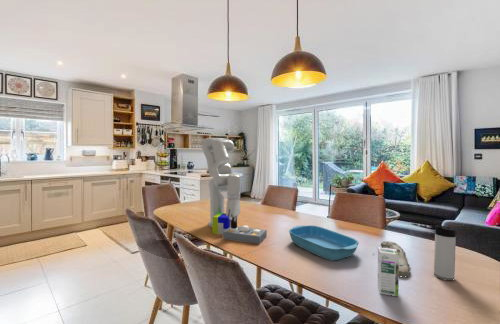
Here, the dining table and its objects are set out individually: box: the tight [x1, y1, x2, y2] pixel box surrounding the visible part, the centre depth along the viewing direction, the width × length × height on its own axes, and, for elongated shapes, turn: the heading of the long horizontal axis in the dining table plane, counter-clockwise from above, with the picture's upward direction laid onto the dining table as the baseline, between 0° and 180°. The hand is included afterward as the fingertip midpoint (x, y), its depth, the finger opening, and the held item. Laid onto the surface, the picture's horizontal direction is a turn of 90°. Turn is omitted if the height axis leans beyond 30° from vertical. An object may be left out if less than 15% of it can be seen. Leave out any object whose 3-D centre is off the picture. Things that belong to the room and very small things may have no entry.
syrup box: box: [377, 246, 400, 298], centre depth 85 cm, size 6×6×14 cm
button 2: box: [253, 228, 260, 234], centre depth 137 cm, size 4×4×4 cm
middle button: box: [240, 225, 250, 233], centre depth 139 cm, size 4×4×4 cm
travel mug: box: [433, 225, 457, 281], centre depth 95 cm, size 6×7×20 cm
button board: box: [222, 226, 268, 245], centre depth 140 cm, size 12×22×4 cm, turn 69°
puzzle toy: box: [212, 212, 231, 235], centre depth 151 cm, size 10×10×10 cm
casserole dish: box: [288, 224, 360, 261], centre depth 124 cm, size 37×22×7 cm, turn 32°
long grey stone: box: [380, 240, 411, 278], centre depth 111 cm, size 35×5×10 cm
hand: (233, 227), depth 142 cm, fingers closed
